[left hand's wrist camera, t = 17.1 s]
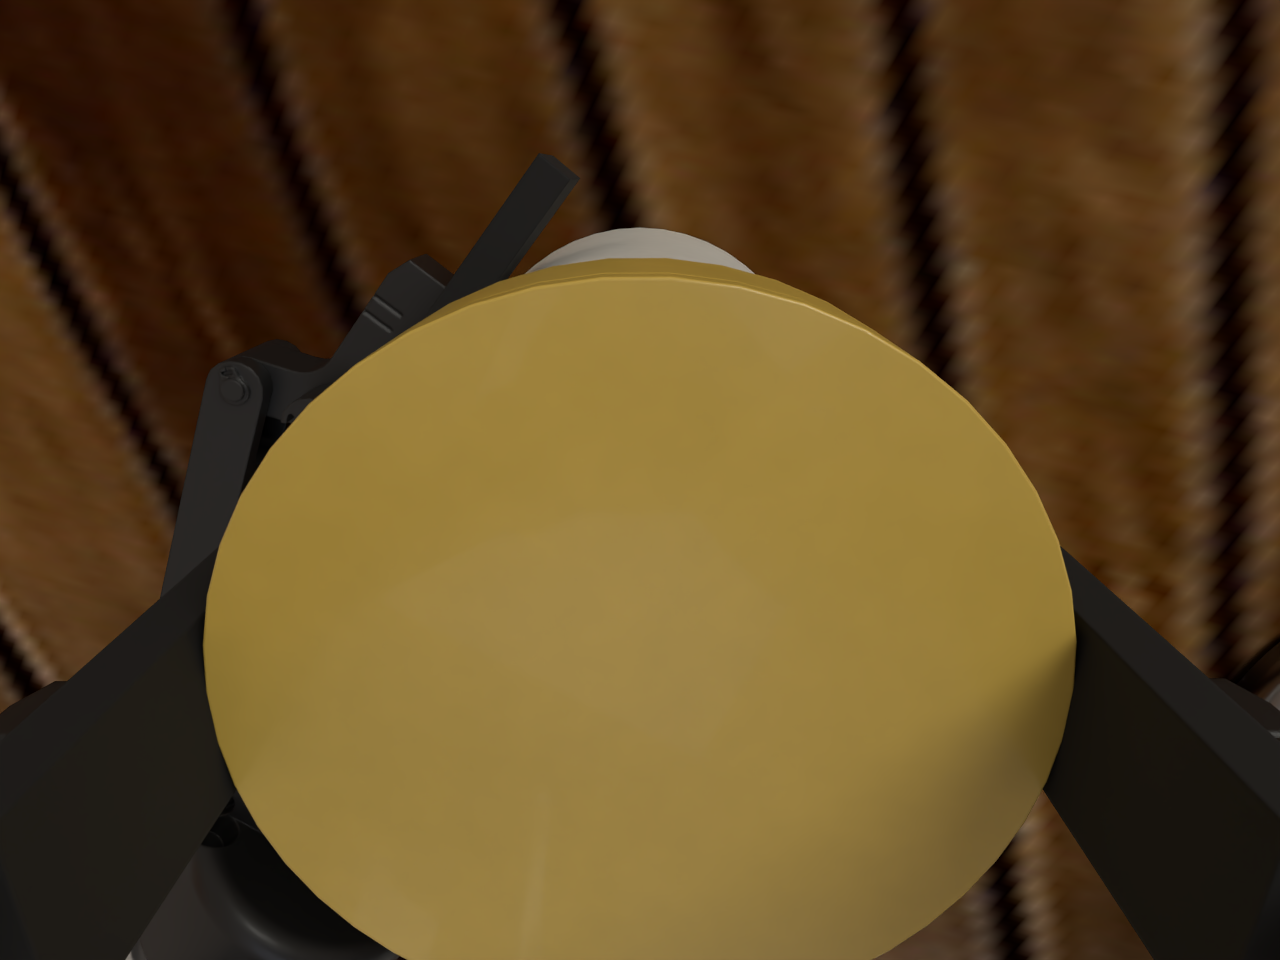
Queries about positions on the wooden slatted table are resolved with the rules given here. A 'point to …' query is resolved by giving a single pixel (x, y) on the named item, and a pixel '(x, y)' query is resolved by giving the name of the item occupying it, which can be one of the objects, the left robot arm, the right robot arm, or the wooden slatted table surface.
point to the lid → (639, 629)
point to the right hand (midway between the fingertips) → (758, 330)
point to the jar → (639, 248)
